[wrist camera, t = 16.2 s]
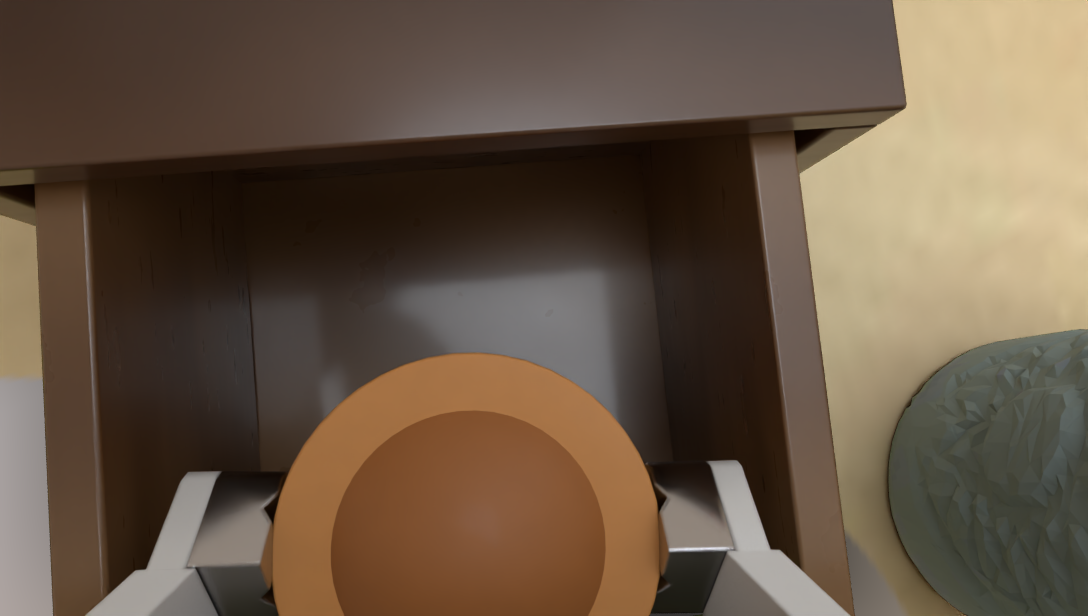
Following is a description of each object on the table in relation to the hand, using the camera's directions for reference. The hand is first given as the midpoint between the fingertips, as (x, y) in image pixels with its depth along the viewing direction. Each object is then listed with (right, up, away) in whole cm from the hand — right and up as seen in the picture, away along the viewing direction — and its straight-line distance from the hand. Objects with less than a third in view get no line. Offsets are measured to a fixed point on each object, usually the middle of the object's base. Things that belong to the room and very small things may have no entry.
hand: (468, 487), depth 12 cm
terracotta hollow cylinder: (0, -1, +5) cm, 5 cm away
